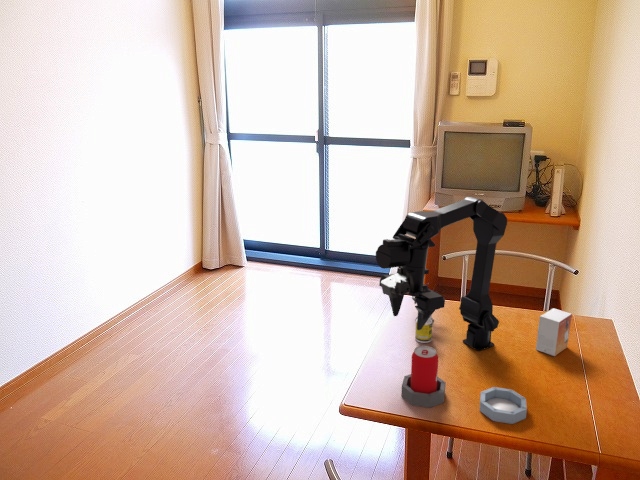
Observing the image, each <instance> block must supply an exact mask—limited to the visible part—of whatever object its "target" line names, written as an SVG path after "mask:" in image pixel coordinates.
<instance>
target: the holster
mask: <svg viewBox="0 0 640 480" xmlns="http://www.w3.org/2000/svg"><path fill="white" fill-rule="evenodd" d="M445 394H446V381H444V380H443V379H442V378H440V377H439V375H437V391H436V392H433V393H431V394H425V393H418V392H414V391H413V390H412V389H411V373H410V374H407V375H404V378H403V380H402V384H401V397H402V398H403V399H404V400H406V401H407V402H408V403H409V404H410V405H411V406H417V407H423V408H428V409H431V408H433V407H436V406H438V405H441V404H443V403H444V400H445Z"/></svg>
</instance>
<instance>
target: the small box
mask: <svg viewBox="0 0 640 480" xmlns="http://www.w3.org/2000/svg"><path fill="white" fill-rule="evenodd" d="M572 317H573V313H570V312H567V311H564V310H560V309H557V308H552V307H551V309H550V310H547V312H544V313H543V314H541V315H540V316H539V321H538V329H537V334H536V335H537V337H536V338H537V339H536V346H535V350H536V351H539V352H542V353H544V354H547V355H549V356H552V357H556V356H557V355H558V354H560V353H561V352H563V351H564V350H565V349H567V348H568V346H569V345H568V344H569V338H570V337H569V336H570V330H571V329H570V328H571V325H572V324H571V323H572Z"/></svg>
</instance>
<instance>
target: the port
mask: <svg viewBox="0 0 640 480" xmlns="http://www.w3.org/2000/svg"><path fill="white" fill-rule="evenodd" d="M479 397H480V398H479V412H480V413H482V414H483V415H484V416H486V417H487V418H489V419H490V420H491V421H493V422H497V423H505V424H510V425H513V424H516V423H518V422H520V421H523V420H525V419H527V413H528V411H527V410H528V408H527V406H528V405H527V399H526V397H525V396H522V394H519V393H518V392H516V391H515V390H513V389H509V388H504V387H497V386H492V387H490V388H487V389H485V390H482V391H480V395H479Z"/></svg>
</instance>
